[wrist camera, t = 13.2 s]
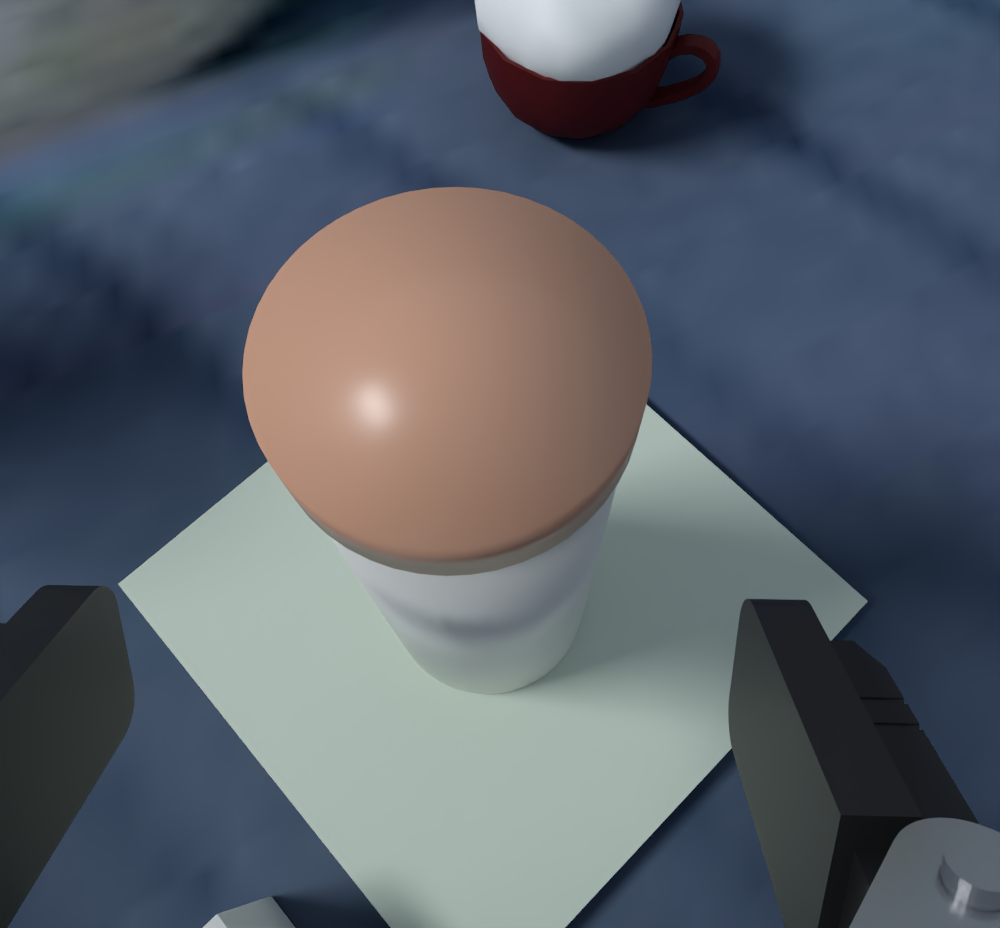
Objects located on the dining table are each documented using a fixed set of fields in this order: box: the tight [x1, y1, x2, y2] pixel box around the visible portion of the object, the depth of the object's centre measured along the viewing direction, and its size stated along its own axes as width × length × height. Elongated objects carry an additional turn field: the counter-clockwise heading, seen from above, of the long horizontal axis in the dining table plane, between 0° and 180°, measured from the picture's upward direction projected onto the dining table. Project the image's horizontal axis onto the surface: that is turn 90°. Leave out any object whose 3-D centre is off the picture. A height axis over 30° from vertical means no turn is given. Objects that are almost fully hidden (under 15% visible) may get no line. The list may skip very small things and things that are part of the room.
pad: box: [118, 404, 868, 928], centre depth 24 cm, size 14×14×1 cm
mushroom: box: [242, 187, 652, 694], centre depth 17 cm, size 5×5×13 cm
